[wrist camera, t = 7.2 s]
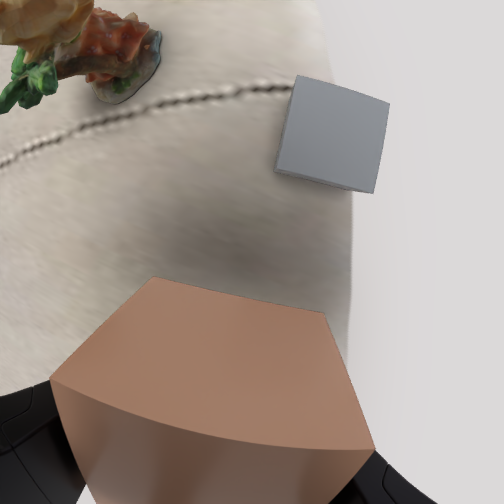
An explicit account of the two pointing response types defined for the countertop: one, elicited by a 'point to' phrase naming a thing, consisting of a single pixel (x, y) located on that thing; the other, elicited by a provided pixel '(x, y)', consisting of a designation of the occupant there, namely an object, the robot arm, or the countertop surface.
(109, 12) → the figurine
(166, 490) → the terracotta cube
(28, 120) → the countertop surface
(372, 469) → the robot arm
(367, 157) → the slate cube
